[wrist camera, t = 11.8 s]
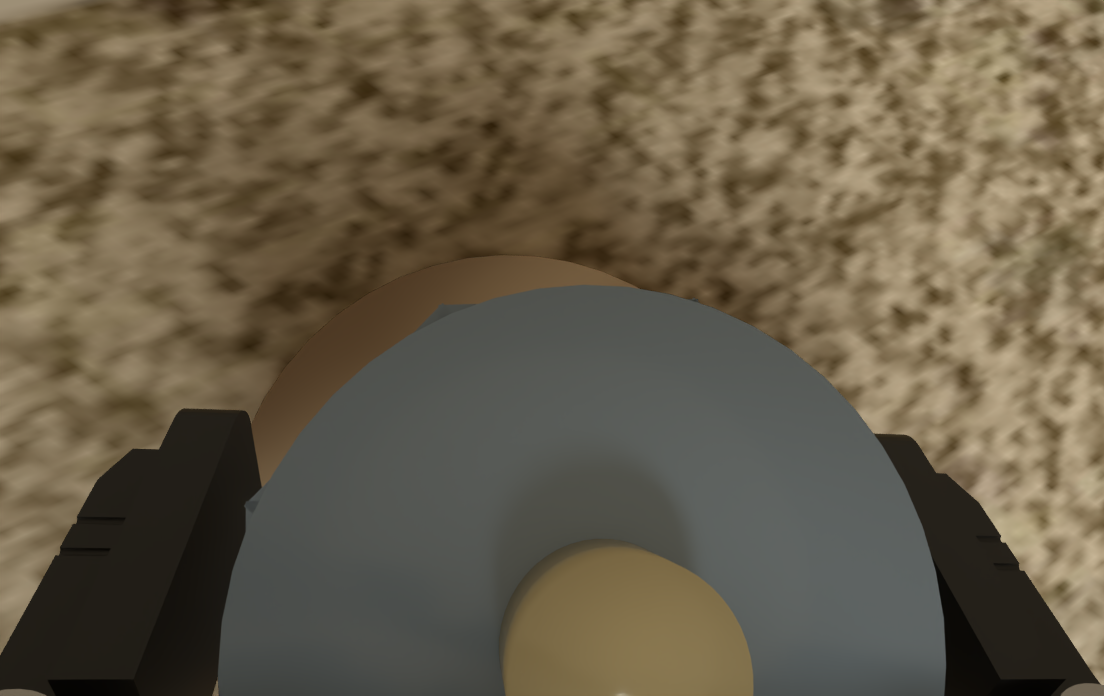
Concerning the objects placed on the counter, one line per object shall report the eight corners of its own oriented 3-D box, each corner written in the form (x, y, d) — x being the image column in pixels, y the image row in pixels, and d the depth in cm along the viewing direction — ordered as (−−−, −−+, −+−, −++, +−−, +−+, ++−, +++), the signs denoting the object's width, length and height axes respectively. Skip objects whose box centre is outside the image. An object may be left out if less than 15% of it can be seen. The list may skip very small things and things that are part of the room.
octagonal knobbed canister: (299, 545, 16) (-61, 744, 5) (509, 324, 17) (598, 85, 6) (526, 757, 16) (676, 1434, 5) (721, 521, 17) (1196, 636, 6)
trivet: (113, 551, 16) (95, 555, 15) (494, 162, 18) (496, 149, 18) (533, 933, 16) (537, 958, 15) (867, 498, 18) (885, 500, 18)
